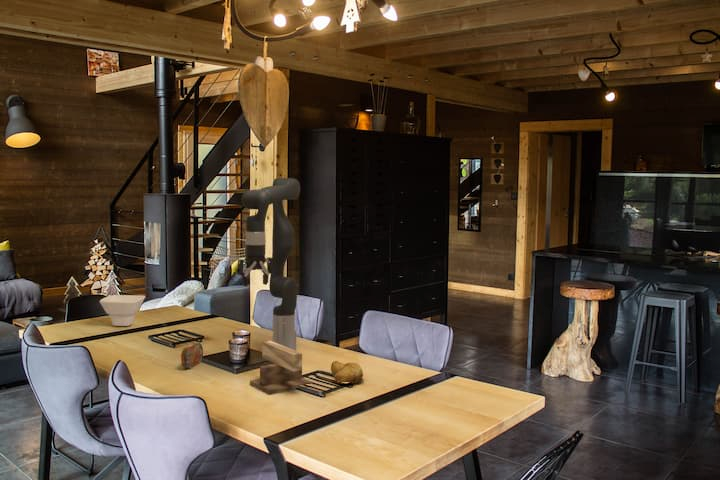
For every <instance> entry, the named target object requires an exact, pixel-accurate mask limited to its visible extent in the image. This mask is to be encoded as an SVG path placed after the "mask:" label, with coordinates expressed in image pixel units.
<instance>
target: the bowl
mask: <svg viewBox="0 0 720 480" xmlns="http://www.w3.org/2000/svg"><path fill="white" fill-rule="evenodd" d="M145 298H146V296H145V295H138V294H137V295H135V294H131V295H130V294H126V295H125V294H112V295H108V296H105V297H103V298H102V299H100V300H99V304H100V305H101V306H102V307H101V308H103V310H104V311H105V313H106V314H107V315H109V318H110V321H111V324H112V326H115V327H128V326H131V325H133V324H134V321H135V317H136V313H137V312H139V309H140V308H141V305H142V304H143V302H144V300H145Z"/></svg>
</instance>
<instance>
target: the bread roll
mask: <svg viewBox="0 0 720 480" xmlns="http://www.w3.org/2000/svg"><path fill="white" fill-rule="evenodd" d="M330 371H331V374H332V375H333V380H334V379H335V380H334V381H335V382H336V381H339V382H352V381H354V382H355V383H354V384H357V383H359V382H360V381H361V380H362V379H363V377H364V372H363V369H362V367H361V365H360V364H358V363H356V362H346V363H343V362H340V361H337V360H335V361H332V362H331V364H330Z"/></svg>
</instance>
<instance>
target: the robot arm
mask: <svg viewBox="0 0 720 480" xmlns="http://www.w3.org/2000/svg"><path fill="white" fill-rule="evenodd" d="M300 193H301V184H300V182H299V180H297V179H296V178H292V177H290V178H289V177H276V178H274V179H273V182H272V185H269V186H265V187H262V188H259V189H248V190H246V191H245V192H243V194H242V196H241V205H242V206H243V207H244V208H245V209H248V210H257V212H256V214H254V215H250V216H249V215H248V216H247V217H246V221H245V222H246V223H245V225H246V227H245V253H244V254H245V259H242V258H238V259H237V267H236V269H237V270H236V274H237V275H238V276H240V277H241V284H242V286H243V287H246V288H247V287H248V284H249V283H248V281H249V280H248V279H249V277H248V275H249V274H250V273H251V272H252V271H255V270H256V271H257V270H260V271H261V272H262V273H263V274H262V284H263V285H268V283H269V292H270V293H269V294H270V295H271V297H273V298H279V299H281V304H280V305H276V306H274V307H273V309H272V312H273V313H272V342H275V343H277V344H280V345H282V346H285V347H288V348H290V349H293V350H295V351H297V331H296V330H295V327H296V326H295V325H296V324H295V319H296V318H295V315H296V308H297V304H298V303H297V302H298V300H297V299H298V283H297V280H296V279H295V278H294V277H289V276H288V277H287V276H284V275H285V273H284V272H285V265H286V263H287V260H288V259H289V257H290V255H291V253H292V252H293V249H294V246H295V229H294V227H293V225H292V223H291V221H290V220H289V218H288V217H287V214H286V212H285V209H284V201H294V200H296V199H298V198H299V196H300V195H301V194H300ZM270 205H272V238H271V240H272V241H271V242H272V244H271V245H272V246H271V247H272V248H271V249H272V250H271V251H272V252H271V253H272V254H271V256H270V257H269V256H268V257H266V241H267V240H266V232H265V231H266V217H267V214H268V210H269V208H270V207H269V206H270ZM265 264H266V265H265ZM244 265H245V267H244ZM269 275H270V277H269Z"/></svg>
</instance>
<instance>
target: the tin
mask: <svg viewBox="0 0 720 480" xmlns="http://www.w3.org/2000/svg"><path fill="white" fill-rule="evenodd" d="M203 357H204V349H203V345H202V344H201V342H195V343H193V342H192V343H191V344H189V345H187V346H186V347H184V348H183V349H182V351H181V353H180V358H181V359H180V361H181V366H182V368H183V369H193V368H194V367H195V366H198V365H199V364H201V362H202V360H203Z"/></svg>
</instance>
